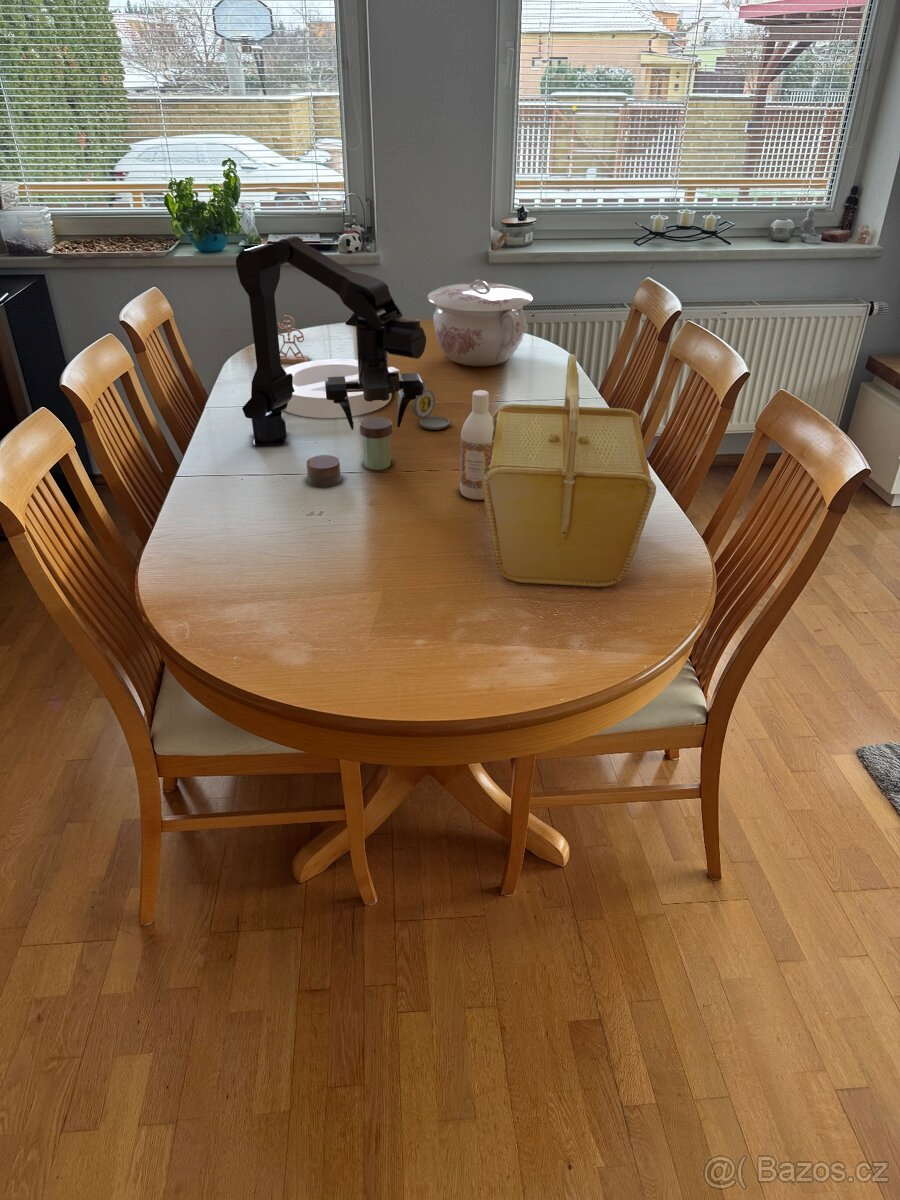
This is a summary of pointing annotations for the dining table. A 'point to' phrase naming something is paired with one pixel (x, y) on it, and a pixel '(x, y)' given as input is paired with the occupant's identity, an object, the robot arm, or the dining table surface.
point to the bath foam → (476, 446)
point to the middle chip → (323, 466)
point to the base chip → (324, 481)
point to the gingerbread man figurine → (295, 357)
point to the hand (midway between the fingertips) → (375, 427)
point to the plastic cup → (376, 453)
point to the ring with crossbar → (313, 394)
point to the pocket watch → (428, 410)
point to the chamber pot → (479, 321)
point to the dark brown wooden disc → (375, 427)
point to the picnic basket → (566, 491)
